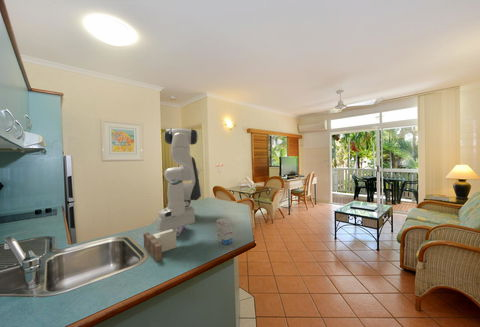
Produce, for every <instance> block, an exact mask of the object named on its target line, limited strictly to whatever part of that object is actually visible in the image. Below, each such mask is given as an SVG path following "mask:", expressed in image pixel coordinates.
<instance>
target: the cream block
mask: <svg viewBox="0 0 480 327" xmlns="http://www.w3.org/2000/svg"><path fill="white" fill-rule="evenodd" d="M151 235H152V236H153V237H154V238H155V239H156V240H157V241H158V242H159V243H160V244H161V246H162V253H165V252H167V251H170V250H172V249H176V248H177V236H176V232H175V231H173V230H172V229H170V230H166V231H163V232H160V231H159V232H157V233H153V234H151Z"/></svg>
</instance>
